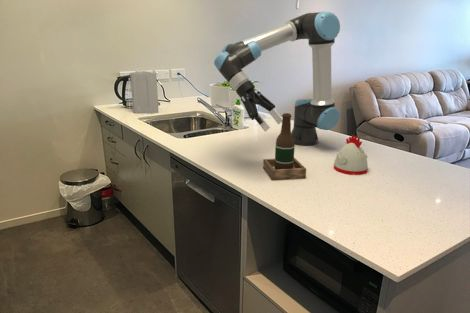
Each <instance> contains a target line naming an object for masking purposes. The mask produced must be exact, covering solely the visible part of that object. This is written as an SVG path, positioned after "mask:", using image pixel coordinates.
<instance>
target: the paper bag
mask: <svg viewBox="0 0 470 313" xmlns="http://www.w3.org/2000/svg"><path fill="white" fill-rule="evenodd" d="M129 74H130V77H129V78H130V87H131V98H132V112H133V114H136V115H138V114H140V115H141V114H142V115H143V114H159V113H160V112H159V97H158V83H157V73H156V72H151V71H145V70H141V71H140V70H138V71H135V72H134V71H133V72H130V73H129Z"/></svg>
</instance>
